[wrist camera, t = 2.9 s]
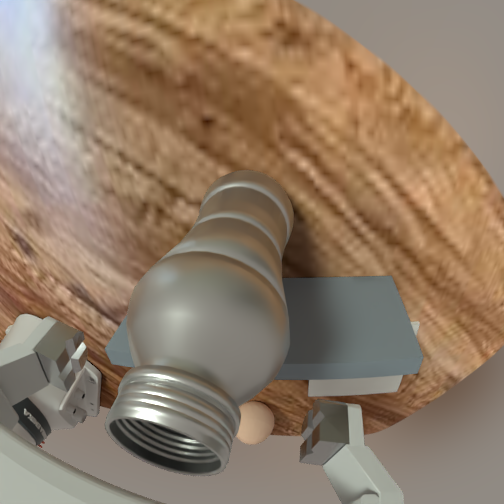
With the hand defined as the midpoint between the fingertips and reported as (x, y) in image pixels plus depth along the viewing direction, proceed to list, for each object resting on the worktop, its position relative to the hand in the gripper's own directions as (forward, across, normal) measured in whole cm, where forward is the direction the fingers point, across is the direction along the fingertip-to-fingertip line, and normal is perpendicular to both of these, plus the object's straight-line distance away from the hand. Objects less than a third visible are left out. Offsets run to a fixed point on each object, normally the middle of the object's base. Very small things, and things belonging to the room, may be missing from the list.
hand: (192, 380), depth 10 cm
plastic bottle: (+18, 0, -1) cm, 18 cm away
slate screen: (+17, +3, -10) cm, 20 cm away
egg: (+17, +6, -26) cm, 31 cm away
